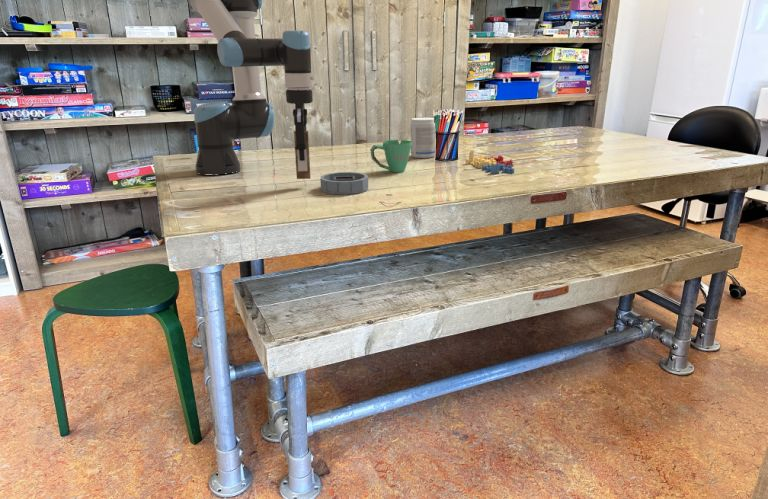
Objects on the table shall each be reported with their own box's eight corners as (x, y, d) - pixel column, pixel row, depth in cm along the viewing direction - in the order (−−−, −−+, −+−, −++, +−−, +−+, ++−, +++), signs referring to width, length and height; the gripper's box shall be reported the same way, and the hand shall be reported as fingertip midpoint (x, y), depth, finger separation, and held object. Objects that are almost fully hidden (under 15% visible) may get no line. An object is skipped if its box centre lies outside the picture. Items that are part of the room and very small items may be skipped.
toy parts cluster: (446, 154, 220) (447, 141, 218) (479, 152, 223) (479, 139, 221) (490, 176, 179) (491, 160, 177) (529, 174, 182) (531, 158, 180)
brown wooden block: (296, 178, 163) (294, 131, 158) (297, 177, 165) (294, 130, 160) (310, 178, 163) (307, 131, 158) (310, 177, 165) (308, 130, 160)
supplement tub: (440, 156, 213) (440, 118, 208) (423, 159, 207) (424, 120, 202) (421, 153, 219) (422, 116, 214) (405, 156, 213) (405, 118, 208)
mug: (404, 167, 193) (404, 139, 189) (416, 172, 184) (416, 142, 181) (366, 170, 187) (365, 141, 184) (376, 176, 179) (375, 145, 176)
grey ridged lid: (320, 195, 155) (319, 182, 153) (322, 184, 168) (321, 172, 167) (369, 194, 156) (368, 181, 154) (367, 183, 169) (366, 171, 167)
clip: (334, 188, 159) (333, 179, 158) (334, 185, 163) (333, 176, 162) (355, 188, 160) (354, 179, 159) (354, 184, 164) (354, 175, 163)
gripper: (310, 90, 148) (314, 175, 156) (313, 86, 162) (316, 164, 170) (282, 90, 147) (288, 175, 155) (288, 86, 161) (292, 164, 170)
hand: (303, 169), depth 163 cm, fingers closed on brown wooden block, 2 cm apart
